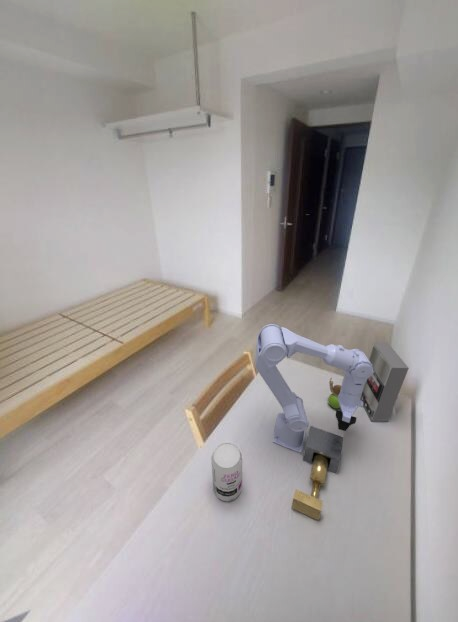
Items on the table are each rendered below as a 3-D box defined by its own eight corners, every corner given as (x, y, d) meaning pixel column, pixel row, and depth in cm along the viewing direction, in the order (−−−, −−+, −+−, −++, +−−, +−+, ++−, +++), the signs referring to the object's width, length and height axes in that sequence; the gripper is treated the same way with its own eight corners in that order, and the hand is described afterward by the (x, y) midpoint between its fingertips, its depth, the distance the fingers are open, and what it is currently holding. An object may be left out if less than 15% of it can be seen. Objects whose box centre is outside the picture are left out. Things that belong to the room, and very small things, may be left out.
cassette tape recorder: (355, 393, 108) (370, 342, 96) (371, 393, 108) (387, 342, 96) (370, 422, 96) (389, 368, 84) (387, 422, 96) (409, 368, 84)
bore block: (302, 460, 84) (305, 446, 81) (307, 439, 90) (310, 425, 87) (336, 474, 80) (340, 459, 77) (339, 451, 87) (343, 437, 83)
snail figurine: (327, 397, 107) (332, 374, 101) (343, 404, 103) (350, 380, 98) (322, 405, 103) (327, 382, 97) (339, 413, 100) (346, 389, 94)
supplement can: (227, 467, 83) (226, 435, 75) (247, 487, 77) (248, 454, 70) (207, 486, 78) (204, 454, 70) (227, 509, 72) (226, 477, 65)
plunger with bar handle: (291, 507, 72) (293, 497, 70) (303, 458, 84) (305, 447, 82) (318, 520, 70) (321, 510, 67) (326, 467, 82) (329, 457, 79)
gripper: (366, 411, 72) (355, 443, 78) (367, 376, 83) (357, 407, 90) (338, 402, 74) (329, 434, 81) (343, 370, 86) (335, 400, 92)
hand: (342, 419), depth 85 cm, fingers open, 7 cm apart
